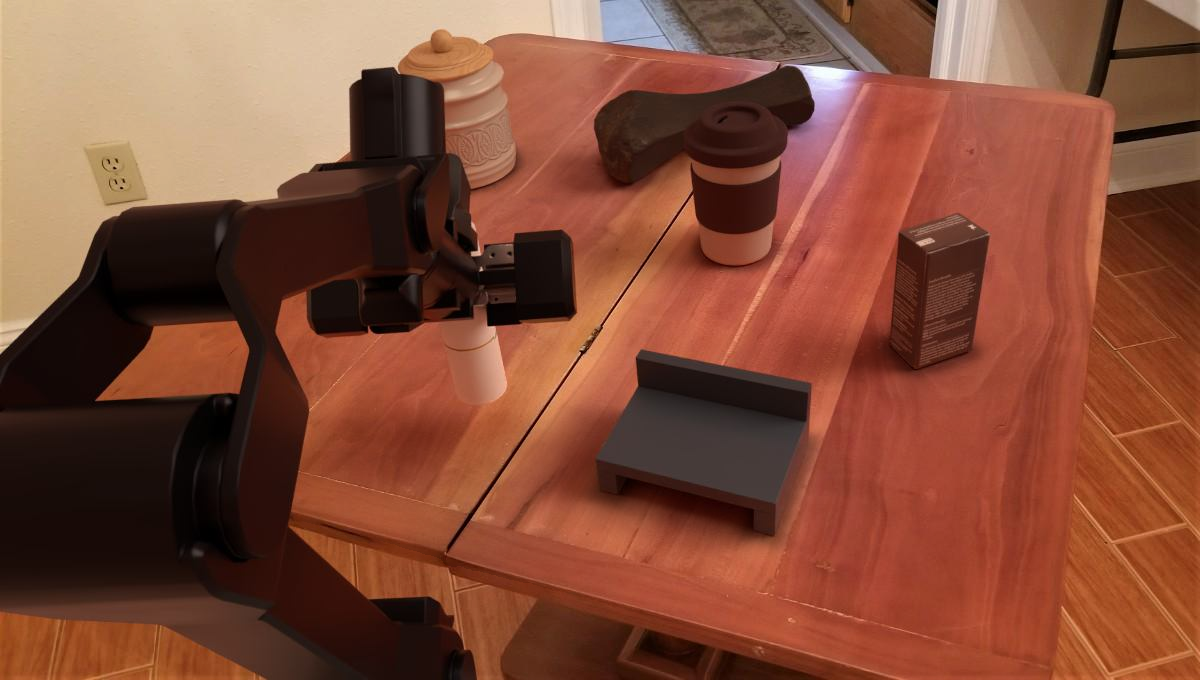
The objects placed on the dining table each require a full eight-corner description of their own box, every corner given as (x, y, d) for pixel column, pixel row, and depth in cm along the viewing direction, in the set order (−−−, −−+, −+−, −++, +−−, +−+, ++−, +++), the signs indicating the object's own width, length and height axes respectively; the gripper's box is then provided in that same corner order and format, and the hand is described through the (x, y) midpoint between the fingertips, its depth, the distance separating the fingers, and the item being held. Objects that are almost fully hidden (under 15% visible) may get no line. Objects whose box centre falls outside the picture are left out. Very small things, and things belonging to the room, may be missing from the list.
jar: (513, 189, 113) (488, 46, 102) (407, 197, 114) (372, 56, 103) (522, 140, 123) (501, 6, 112) (425, 148, 124) (395, 15, 113)
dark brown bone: (607, 203, 112) (799, 163, 122) (629, 146, 103) (834, 108, 113) (574, 133, 116) (763, 100, 126) (592, 73, 107) (794, 42, 117)
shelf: (774, 536, 68) (776, 474, 64) (599, 490, 73) (590, 430, 69) (808, 443, 75) (812, 382, 71) (645, 407, 80) (640, 348, 76)
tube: (493, 409, 75) (458, 251, 66) (446, 400, 77) (406, 244, 68) (515, 376, 78) (485, 220, 69) (470, 368, 80) (435, 214, 71)
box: (941, 324, 85) (959, 209, 78) (972, 352, 82) (995, 235, 74) (883, 343, 84) (896, 227, 77) (913, 372, 81) (930, 254, 73)
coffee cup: (802, 257, 96) (808, 121, 87) (716, 285, 93) (713, 148, 84) (753, 214, 103) (754, 85, 94) (672, 239, 101) (665, 109, 92)
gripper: (555, 127, 59) (579, 196, 75) (268, 150, 60) (349, 214, 76) (564, 300, 58) (586, 334, 73) (270, 321, 59) (353, 350, 74)
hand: (467, 304), depth 74 cm, fingers closed on tube, 4 cm apart
